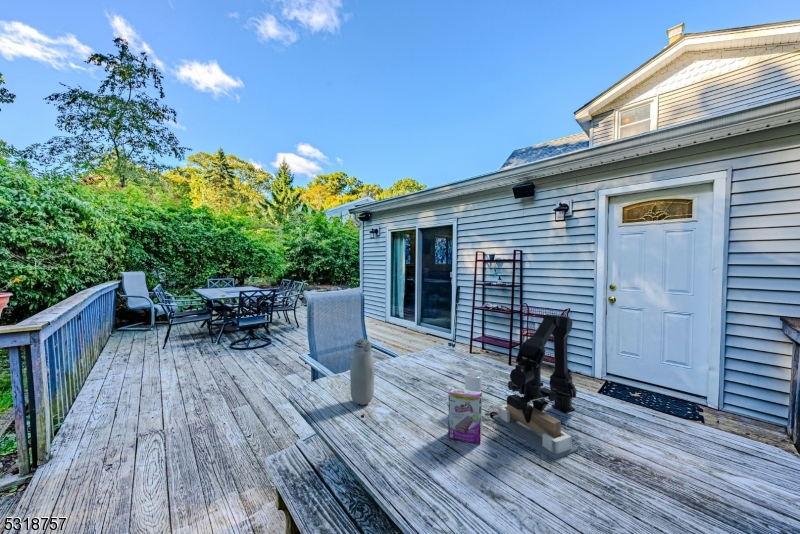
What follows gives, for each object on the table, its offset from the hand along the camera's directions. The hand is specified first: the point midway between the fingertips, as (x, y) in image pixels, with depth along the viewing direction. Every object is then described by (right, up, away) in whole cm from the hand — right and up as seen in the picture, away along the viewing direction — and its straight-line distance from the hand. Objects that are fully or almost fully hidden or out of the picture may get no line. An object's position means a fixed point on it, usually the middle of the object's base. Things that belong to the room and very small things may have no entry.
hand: (531, 421), depth 110 cm
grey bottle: (-64, -4, +23) cm, 68 cm away
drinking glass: (-17, -4, +16) cm, 24 cm away
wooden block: (0, -2, 0) cm, 2 cm away
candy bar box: (-25, -4, -3) cm, 25 cm away
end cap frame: (0, -4, 0) cm, 4 cm away
